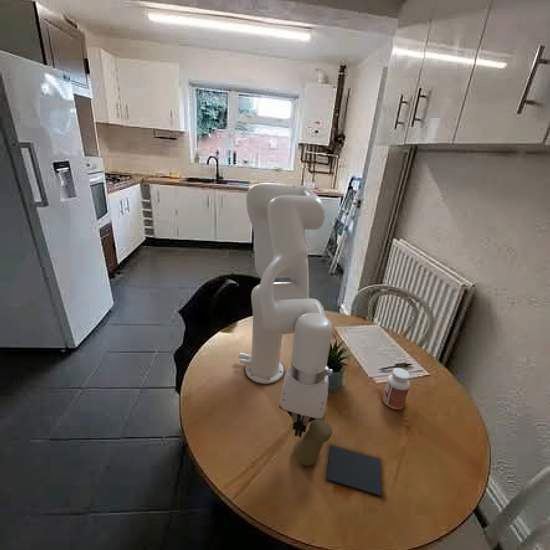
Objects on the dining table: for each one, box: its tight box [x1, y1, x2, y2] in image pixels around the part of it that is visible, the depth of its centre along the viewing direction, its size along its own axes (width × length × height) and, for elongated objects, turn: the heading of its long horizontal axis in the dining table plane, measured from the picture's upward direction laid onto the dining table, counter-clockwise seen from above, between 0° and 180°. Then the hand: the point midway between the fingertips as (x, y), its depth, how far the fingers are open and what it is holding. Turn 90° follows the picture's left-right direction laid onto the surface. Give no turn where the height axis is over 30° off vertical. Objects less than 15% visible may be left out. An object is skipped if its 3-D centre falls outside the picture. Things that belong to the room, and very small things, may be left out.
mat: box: [326, 445, 382, 497], centre depth 73 cm, size 12×9×1 cm
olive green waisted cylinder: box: [293, 419, 333, 466], centre depth 73 cm, size 6×6×11 cm
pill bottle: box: [382, 367, 411, 410], centre depth 92 cm, size 6×6×11 cm
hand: (299, 431), depth 73 cm, fingers closed
